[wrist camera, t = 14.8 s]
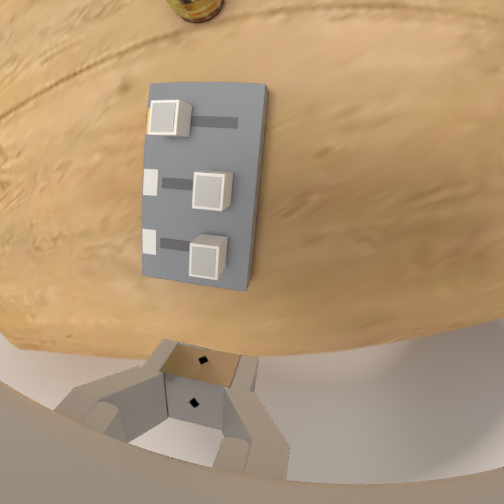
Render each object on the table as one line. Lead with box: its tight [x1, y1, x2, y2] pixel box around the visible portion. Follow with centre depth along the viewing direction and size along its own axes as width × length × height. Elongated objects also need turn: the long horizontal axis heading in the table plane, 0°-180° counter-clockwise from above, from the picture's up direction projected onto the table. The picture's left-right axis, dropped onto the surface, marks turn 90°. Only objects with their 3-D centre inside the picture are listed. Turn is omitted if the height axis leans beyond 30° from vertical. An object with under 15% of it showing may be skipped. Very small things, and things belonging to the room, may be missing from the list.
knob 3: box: [189, 234, 228, 280], centre depth 34 cm, size 3×4×4 cm
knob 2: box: [192, 170, 233, 211], centre depth 32 cm, size 3×4×4 cm
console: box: [142, 82, 269, 292], centre depth 36 cm, size 13×23×4 cm, turn 175°
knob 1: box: [148, 100, 192, 137], centre depth 30 cm, size 3×4×4 cm
